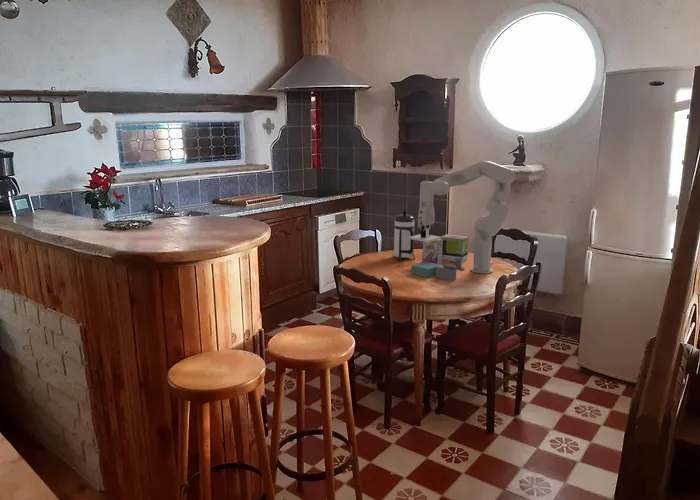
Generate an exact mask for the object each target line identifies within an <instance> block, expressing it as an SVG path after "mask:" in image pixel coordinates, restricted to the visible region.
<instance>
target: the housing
mask: <svg viewBox="0 0 700 500" xmlns="http://www.w3.org/2000/svg"><path fill="white" fill-rule="evenodd" d="M443 265H444V264H442V265H439V264H435V263H430V262H426V261H424V262H422V261H421V262H417V263H414V264H412V265H411V271H410V272H411V274H412V275H415V276H420V277H424V278H428V279H429V278H433V277H435V278H437V279H441V280H444V281H448V282H449V281H450V282H452V281H455V280H456V279H457V270H455V269H450V268H446V267H443Z"/></svg>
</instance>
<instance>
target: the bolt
mask: <svg viewBox="0 0 700 500" xmlns="http://www.w3.org/2000/svg"><path fill="white" fill-rule="evenodd" d="M462 260H463V257H459V258H456V259H455V261H456V262H455V265H453V264H448V263H445V264H442V265H443V267H446V268H450V269H455V270H456V271H460V272H464V271H466V270H465V267H462V265H463V262H462Z"/></svg>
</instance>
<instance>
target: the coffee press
mask: <svg viewBox="0 0 700 500" xmlns="http://www.w3.org/2000/svg"><path fill="white" fill-rule="evenodd" d="M393 221H394V224H393V227H394V228H393V229H394V233H393V234H394V236H393V242H394V243H393V246H394V247H393V254H392V255H391V256H392V258H395V257H396V258H397V261H398V262H399V261H402V259H407V258H409V259H412V260H415V259H416V257H415V255H414V249H415V248H414V247H415V246H414V244H415V243H414V242H415V240H412V239H409V237H411V236H415V221H416V219H415V218H414V216H413V215H412V214H407V211H406V210H402V213H401V214H397V215H395V217H394V218H393Z"/></svg>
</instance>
